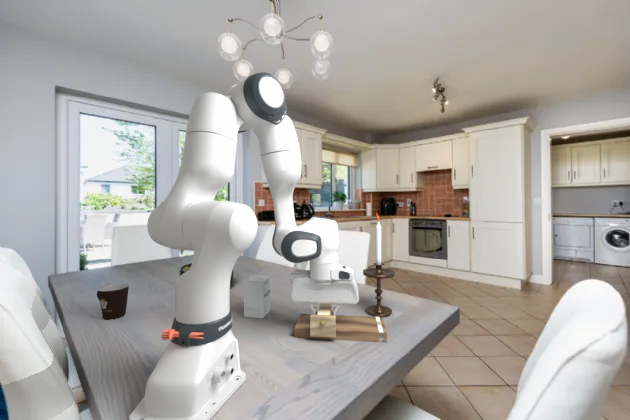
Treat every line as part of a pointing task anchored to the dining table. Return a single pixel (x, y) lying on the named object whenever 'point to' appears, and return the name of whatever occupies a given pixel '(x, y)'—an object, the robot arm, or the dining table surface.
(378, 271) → the candlestick
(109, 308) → the coffee mug
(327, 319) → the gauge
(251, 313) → the supplement box
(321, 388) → the dining table surface
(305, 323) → the board
